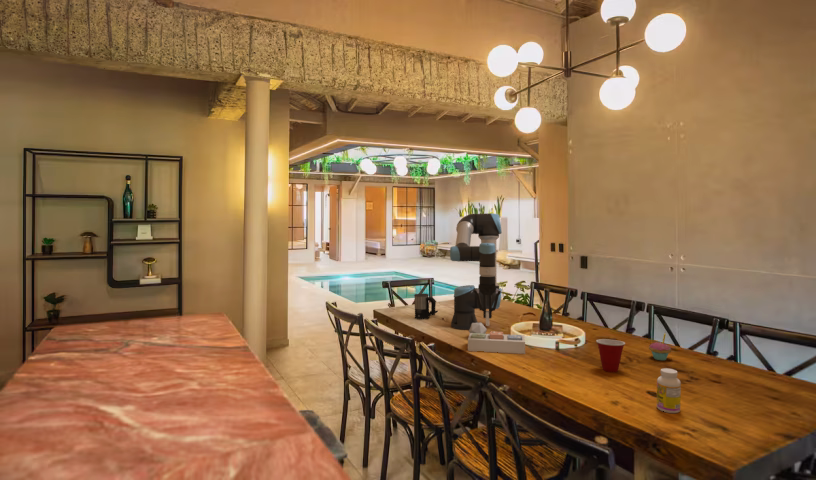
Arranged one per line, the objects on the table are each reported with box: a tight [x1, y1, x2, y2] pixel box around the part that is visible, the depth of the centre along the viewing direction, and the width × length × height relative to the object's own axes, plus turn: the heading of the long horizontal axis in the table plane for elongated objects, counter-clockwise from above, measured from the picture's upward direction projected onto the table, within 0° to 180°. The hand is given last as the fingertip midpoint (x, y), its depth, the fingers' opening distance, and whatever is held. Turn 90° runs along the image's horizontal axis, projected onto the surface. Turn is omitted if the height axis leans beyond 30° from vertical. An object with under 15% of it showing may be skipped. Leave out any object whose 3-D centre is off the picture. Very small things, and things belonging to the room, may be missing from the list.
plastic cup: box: [595, 338, 626, 373], centre depth 185 cm, size 11×11×12 cm
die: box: [468, 322, 488, 334], centre depth 237 cm, size 8×9×10 cm
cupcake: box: [648, 331, 672, 361], centre depth 199 cm, size 9×8×12 cm
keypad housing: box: [467, 333, 526, 355], centre depth 217 cm, size 12×26×6 cm, turn 78°
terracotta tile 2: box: [489, 330, 504, 340], centre depth 217 cm, size 6×6×4 cm
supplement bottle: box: [656, 367, 682, 414], centre depth 147 cm, size 7×7×13 cm
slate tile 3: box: [507, 334, 522, 340], centre depth 215 cm, size 6×6×4 cm
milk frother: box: [413, 293, 439, 320], centre depth 287 cm, size 14×16×15 cm
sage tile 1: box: [472, 333, 486, 339], centre depth 219 cm, size 6×6×4 cm
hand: (487, 325), depth 217 cm, fingers closed
